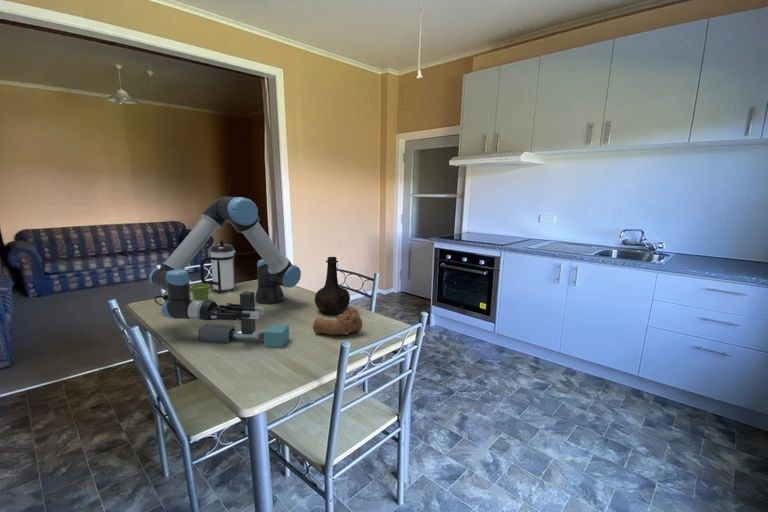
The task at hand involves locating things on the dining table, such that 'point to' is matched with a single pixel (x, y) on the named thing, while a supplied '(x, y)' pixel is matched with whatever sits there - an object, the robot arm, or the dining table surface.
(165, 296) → the coffee mug
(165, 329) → the dining table surface
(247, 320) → the dark lever handle
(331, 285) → the glass bottle
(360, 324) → the clay pipe
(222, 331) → the outer sleeve
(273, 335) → the socket block
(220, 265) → the coffee press
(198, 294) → the plant pot
